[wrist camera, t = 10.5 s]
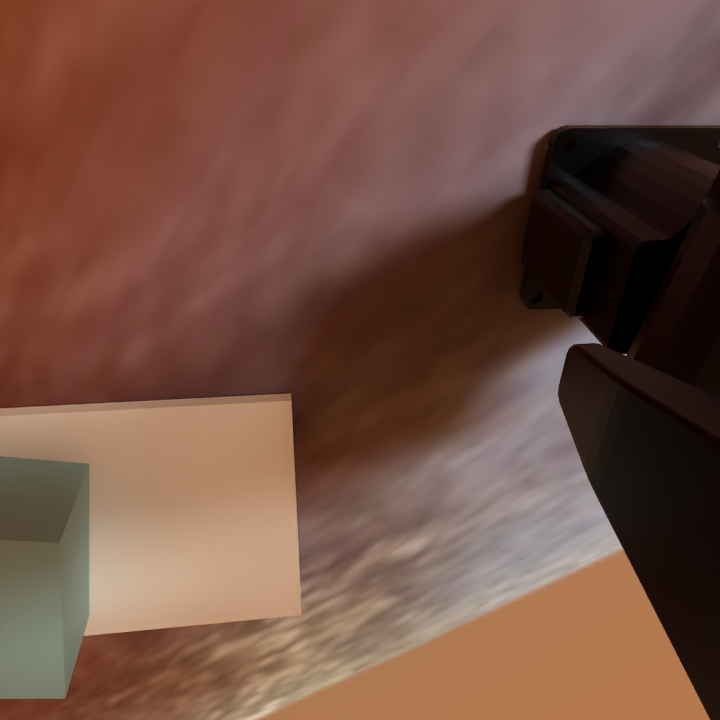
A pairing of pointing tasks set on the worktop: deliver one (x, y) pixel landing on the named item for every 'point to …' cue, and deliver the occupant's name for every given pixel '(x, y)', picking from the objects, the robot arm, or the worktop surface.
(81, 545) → the grey-green block
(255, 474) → the mat
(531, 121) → the worktop surface
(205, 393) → the worktop surface
